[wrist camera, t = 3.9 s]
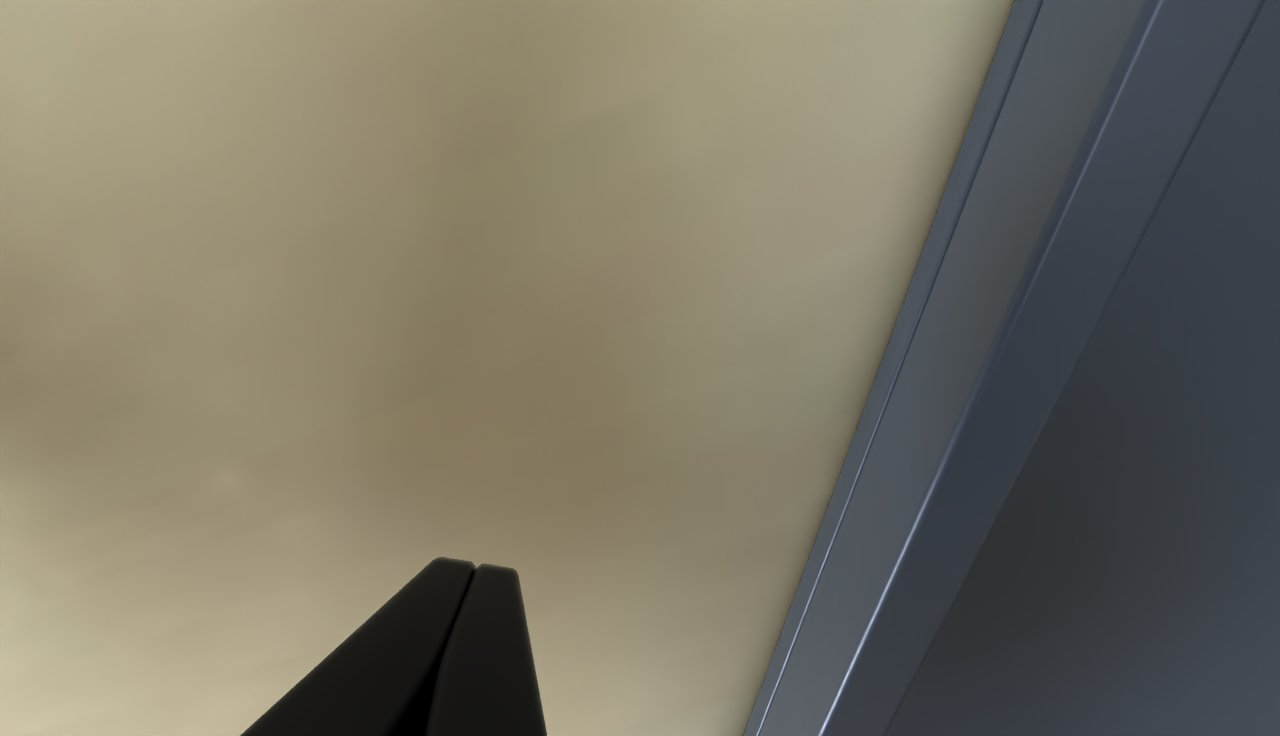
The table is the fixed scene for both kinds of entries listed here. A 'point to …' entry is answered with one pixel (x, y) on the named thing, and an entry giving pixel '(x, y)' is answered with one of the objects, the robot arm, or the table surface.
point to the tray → (1071, 409)
